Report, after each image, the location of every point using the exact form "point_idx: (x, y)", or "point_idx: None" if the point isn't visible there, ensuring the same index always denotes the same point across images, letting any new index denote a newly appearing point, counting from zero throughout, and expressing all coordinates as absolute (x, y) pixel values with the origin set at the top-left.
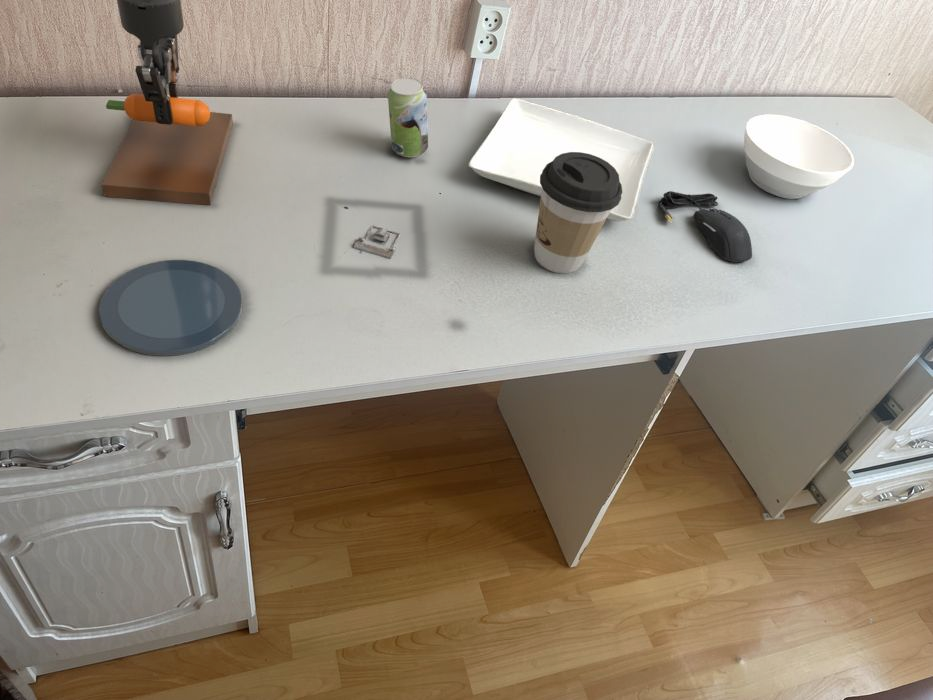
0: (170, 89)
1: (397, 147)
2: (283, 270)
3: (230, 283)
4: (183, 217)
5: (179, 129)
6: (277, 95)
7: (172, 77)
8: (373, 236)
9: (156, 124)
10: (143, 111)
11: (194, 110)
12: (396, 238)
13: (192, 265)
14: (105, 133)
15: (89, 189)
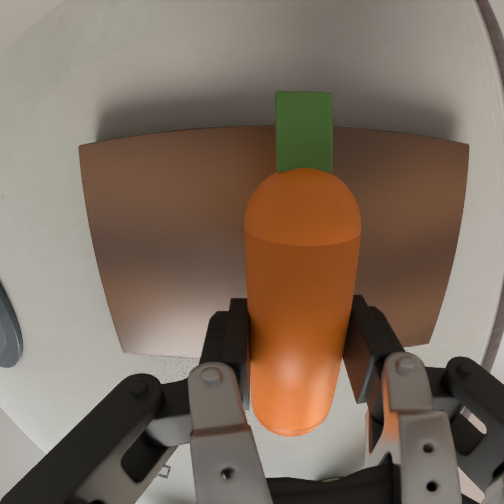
0: (357, 377)
1: None
2: (61, 401)
3: (11, 360)
4: (86, 299)
5: (369, 261)
6: (487, 359)
7: (368, 429)
8: None
9: (389, 200)
10: (246, 267)
11: (261, 419)
12: (158, 475)
13: (8, 325)
14: (367, 65)
15: (114, 101)
